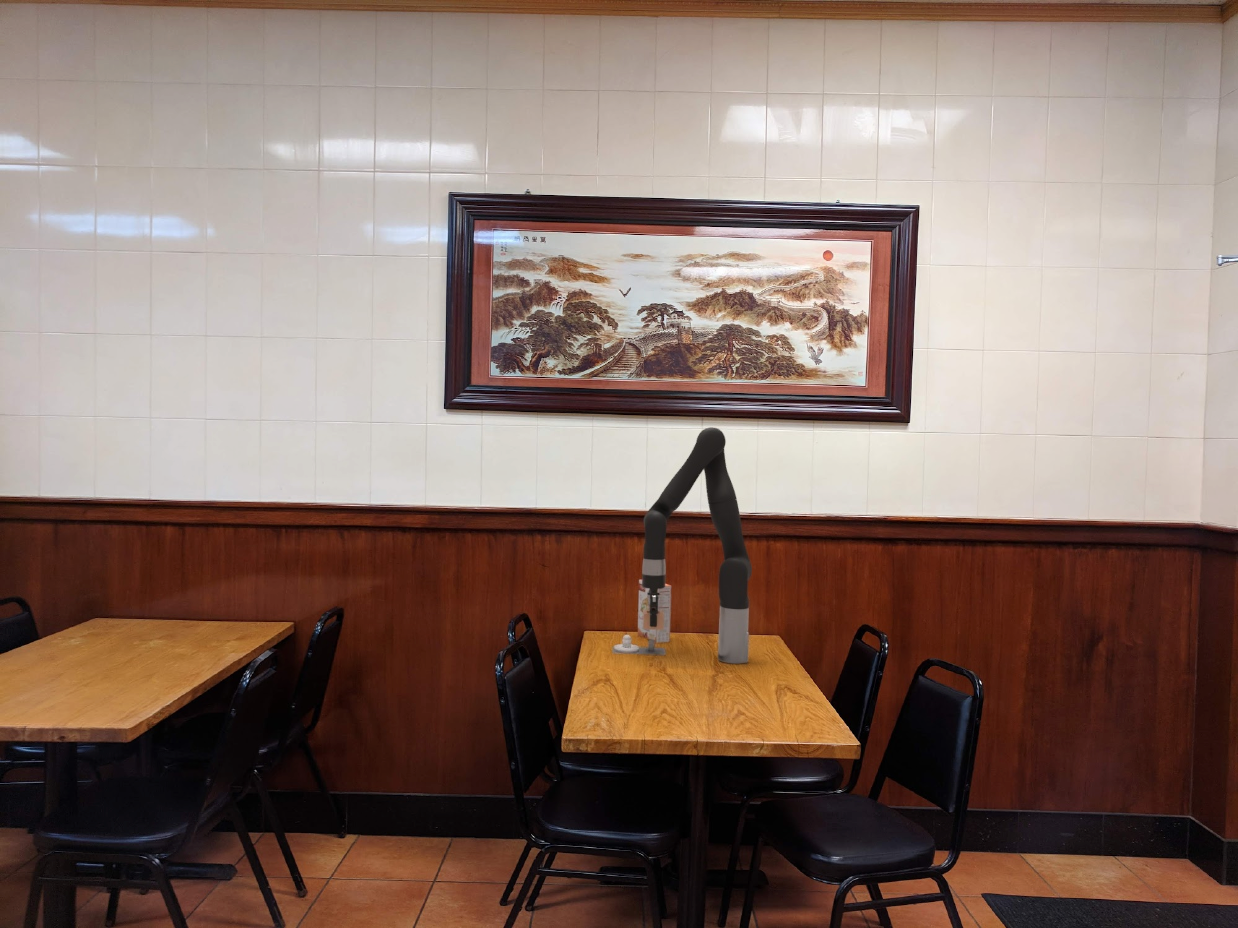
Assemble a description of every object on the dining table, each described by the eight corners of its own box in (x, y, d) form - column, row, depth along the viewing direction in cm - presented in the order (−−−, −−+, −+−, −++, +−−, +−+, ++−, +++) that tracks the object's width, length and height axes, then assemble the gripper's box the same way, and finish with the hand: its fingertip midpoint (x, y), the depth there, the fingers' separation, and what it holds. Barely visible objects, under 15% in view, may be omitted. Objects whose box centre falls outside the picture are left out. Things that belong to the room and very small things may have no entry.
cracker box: (636, 637, 288) (638, 578, 287) (651, 636, 290) (653, 578, 290) (654, 647, 275) (656, 585, 274) (670, 645, 277) (672, 584, 277)
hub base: (664, 652, 268) (665, 633, 268) (665, 659, 259) (666, 639, 259) (612, 650, 268) (613, 631, 268) (612, 657, 259) (612, 637, 259)
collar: (662, 625, 266) (662, 610, 266) (663, 629, 260) (663, 614, 260) (642, 625, 266) (643, 609, 266) (643, 629, 260) (643, 613, 260)
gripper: (666, 576, 256) (665, 629, 256) (664, 569, 270) (663, 620, 270) (642, 575, 256) (641, 628, 256) (641, 569, 270) (640, 619, 270)
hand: (652, 624), depth 263 cm, fingers closed on collar, 6 cm apart
